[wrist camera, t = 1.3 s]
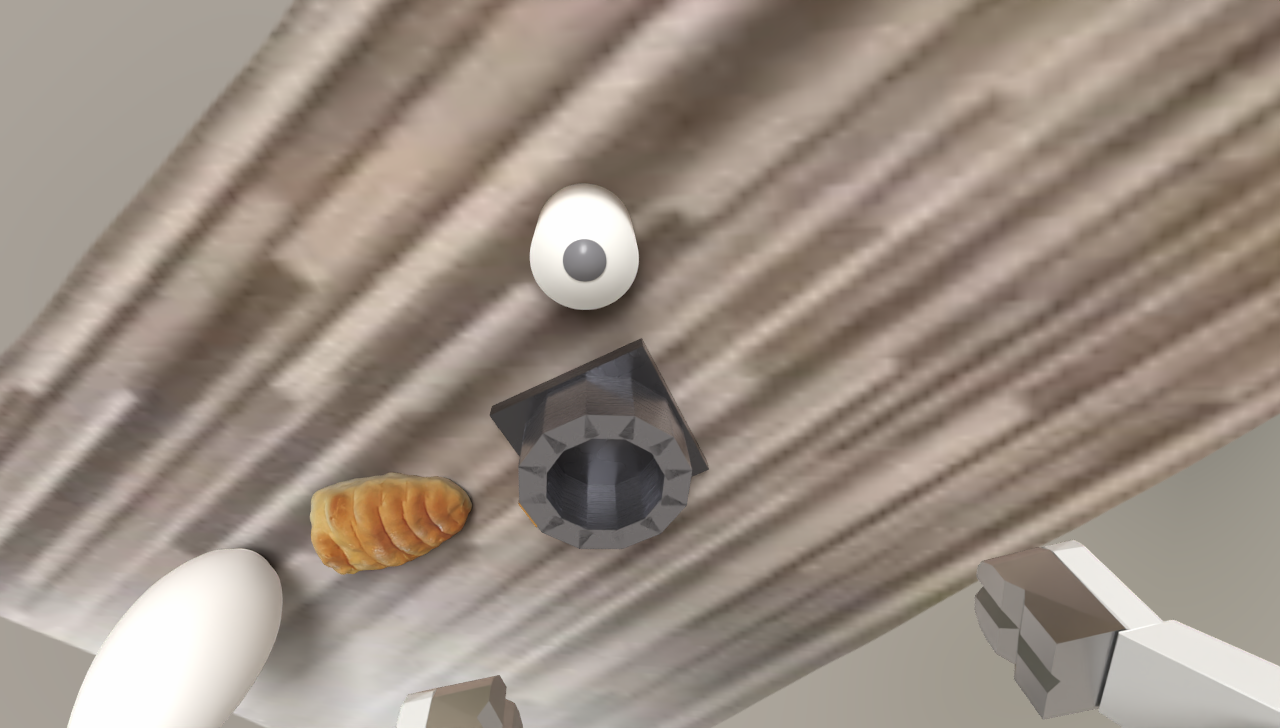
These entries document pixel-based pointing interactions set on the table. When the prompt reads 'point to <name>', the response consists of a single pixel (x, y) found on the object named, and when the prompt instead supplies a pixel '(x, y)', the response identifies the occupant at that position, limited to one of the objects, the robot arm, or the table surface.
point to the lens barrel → (602, 451)
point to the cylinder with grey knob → (584, 247)
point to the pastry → (384, 520)
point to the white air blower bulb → (186, 647)
